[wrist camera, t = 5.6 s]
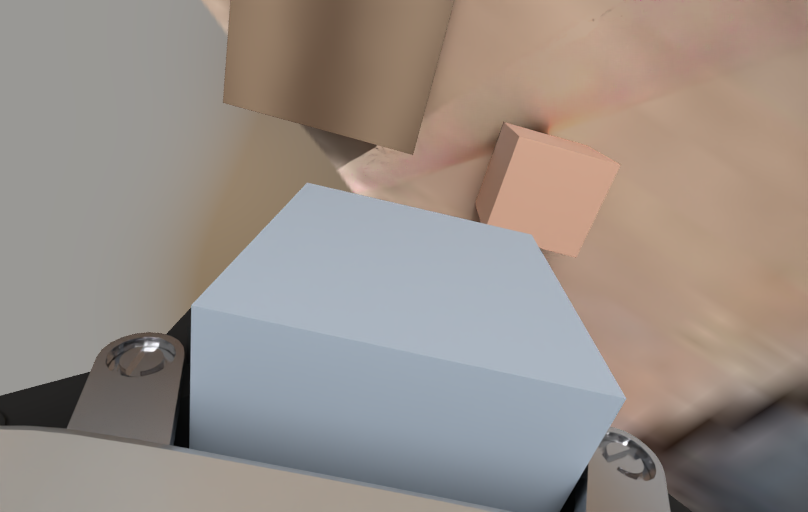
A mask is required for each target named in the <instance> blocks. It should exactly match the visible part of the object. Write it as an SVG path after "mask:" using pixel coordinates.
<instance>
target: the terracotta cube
mask: <svg viewBox="0 0 808 512" xmlns="http://www.w3.org/2000/svg"><path fill="white" fill-rule="evenodd" d="M620 166H621V165H620V164H618V163H617V162H615V161H613V160H611V159H610V158H608V157H606V156H605V155H603V154H601V153H599V152H598V151H596V150H594V149H592V148H591V147H589V146H587V145H584V144H580V143H577V142H573V141H570V140H566V139H563V138H559V137H556V136H552V135H548V134H545V133H541V132H538V131H534V130H531V129H527V128H524V127H520V126H517V125H513V124H510V123H506V122H503V125H502V127H501V130H500V133H499V136H498V139H497V142H496V145H495V148H494V150H493V153H492V156H491V159H490V162H489V165H488V168H487V171H486V173H485V176H484V179H483V182H482V185H481V188H480V191H479V194H478V196H477V199H476V202H475V205H476V208H477V211H478V215H479V218H480V222H481V223H484V224H488V225H492V226H497V227H501V228H505V229H509V230H514V231H518V232H522V233H527V234H531V235H532V236H533V238H534V240H535V241H536V243H537V245H538V247H539V248H542V249H545V250H549V251H553V252H557V253H560V254H564V255H568V256H572V257H575V258H576V257H577V255H578V253H579V251H580V249H581V247H582V245H583V243H584V241H585V239H586V237H587V234H588V232H589V230H590V228H591V226H592V224H593V222H594V220H595V218H596V216H597V214H598V212H599V209H600V207H601V205H602V203H603V201H604V199H605V197H606V195H607V193H608V191H609V189H610V187H611V185H612V182H613V180H614V178H615V176H616V174H617V172H618V170H619V168H620Z"/></svg>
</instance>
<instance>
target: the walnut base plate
mask: <svg viewBox="0 0 808 512" xmlns="http://www.w3.org/2000/svg"><path fill="white" fill-rule="evenodd" d="M453 4H454V0H230V14H229V27H228V42H227V55H226V68H225V82H224V96H223V103H226V104H230V105H233V106H237V107H241V108H244V109H248V110H251V111H255V112H259V113H262V114H266V115H270V116H273V117H277V118H281V119H284V120H288V121H292V122H295V123H299V124H302V125H306V126H310V127H313V128H317V129H321V130H324V131H328V132H332V133H335V134H339V135H343V136H346V137H350V138H353V139H357V140H361V141H364V142H368V143H372V144H375V145H379V146H383V147H386V148H390V149H394V150H397V151H401V152H404V153H408V154H412V155H413V153H414V149H415V146H416V142H417V138H418V134H419V131H420V127H421V123H422V119H423V116H424V112H425V108H426V105H427V101H428V97H429V93H430V90H431V86H432V82H433V78H434V75H435V71H436V67H437V63H438V60H439V56H440V52H441V49H442V45H443V41H444V37H445V34H446V30H447V26H448V22H449V19H450V15H451V11H452V7H453Z"/></svg>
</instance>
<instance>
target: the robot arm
mask: <svg viewBox="0 0 808 512" xmlns="http://www.w3.org/2000/svg"><path fill="white" fill-rule="evenodd" d="M190 367H191V308H190V309H189V310H188V311H187V313H186V314H185V315H184V316H183V317H182V318H181V319H180V320H179V321H178V322H177V323H176V324H175V325H174V326H173V328H172V329H171V330H170V331H169V332H168V333H167V334H162V333H151V332H148V333H137V334H132V335H129V336H125V337H122V338H120V339H117V340H115V341H113V342H111V343H110V344H108V345H107V346H106V347H104V348H103V349H102V350H101V352H100V353H99V354H98V356H97V357H96V360H95V362H94V364H93V367H92V369H91V372H88V373H84V374H80V375H76V376H72V377H69V378H65V379H61V380H58V381H54V382H50V383H47V384H43V385H39V386H35V387H31V388H28V389H24V390H20V391H16V392H13V393H9V394H5V395H2V396H0V512H512V511H507V510H502V509H497V508H493V507H488V506H483V505H478V504H473V503H468V502H463V501H458V500H453V499H448V498H442V497H437V496H432V495H427V494H422V493H417V492H412V491H407V490H402V489H397V488H392V487H387V486H381V485H376V484H371V483H366V482H361V481H356V480H351V479H346V478H340V477H335V476H330V475H325V474H320V473H315V472H309V471H304V470H299V469H294V468H288V467H283V466H278V465H273V464H267V463H262V462H257V461H252V460H246V459H241V458H236V457H231V456H225V455H220V454H215V453H210V452H204V451H199V450H194V449H189V439H190ZM560 512H692V511H690V510H689V509H688V508H686V507H685V506H684V505H683V504H681V503H680V502H679V501H677V500H676V499H675V498H673V497H672V496H671V495H670V494H668V492H667V486H666V479H665V473H664V470H663V467H662V464H661V463H660V461H659V460H658V458H657V457H656V455H655V454H654V453H653V452H652V451H651V450H650V449H649V448H648V447H647V446H646V445H645V444H644V443H642V442H641V441H640V440H639V439H637V438H636V437H634V436H632V435H631V434H629V433H627V432H625V431H622V430H620V429H617V428H614V427H609V429H608V430H607V432H606V434H605V436H604V437H603V439H602V441H601V442H600V444H599V446H598V447H597V449H596V451H595V453H594V454H593V456H592V458H591V459H590V461H589V463H588V464H587V466H586V468H585V470H584V471H583V473H582V475H581V476H580V478H579V480H578V481H577V483H576V485H575V487H574V488H573V490H572V492H571V493H570V495H569V497H568V498H567V500H566V502H565V504H564V505H563V507H562V509H561V510H560Z"/></svg>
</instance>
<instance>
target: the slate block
mask: <svg viewBox="0 0 808 512" xmlns="http://www.w3.org/2000/svg"><path fill="white" fill-rule="evenodd" d="M625 400H626V397H625V396H624V394H623V392H622V391H621V389H620V387H619V385H618V384H617V382H616V380H615V378H614V377H613V375H612V373H611V371H610V370H609V368H608V366H607V365H606V363H605V361H604V359H603V358H602V356H601V354H600V352H599V351H598V349H597V347H596V345H595V344H594V342H593V340H592V338H591V337H590V335H589V333H588V332H587V330H586V328H585V326H584V325H583V323H582V321H581V319H580V318H579V316H578V314H577V312H576V311H575V309H574V307H573V306H572V304H571V302H570V300H569V299H568V297H567V295H566V293H565V292H564V290H563V288H562V286H561V285H560V283H559V281H558V280H557V278H556V276H555V274H554V273H553V271H552V269H551V267H550V266H549V264H548V262H547V260H546V259H545V257H544V255H543V254H542V252H541V250H540V248H539V247H538V245H537V243H536V241H535V240H534V238H533V236H532V235H531V234H527V233H522V232H518V231H514V230H509V229H505V228H501V227H497V226H492V225H488V224H484V223H479V222H475V221H471V220H466V219H462V218H458V217H453V216H449V215H445V214H440V213H436V212H432V211H427V210H423V209H419V208H414V207H410V206H406V205H401V204H397V203H393V202H388V201H384V200H380V199H375V198H371V197H367V196H362V195H358V194H354V193H349V192H345V191H341V190H336V189H332V188H328V187H323V186H319V185H315V184H310V183H307V184H306V185H305V186H304V187H303V188H302V189H301V190H300V191H299V192H298V193H297V194H296V195H295V196H294V197H293V198H292V199H291V201H290V202H289V203H288V204H287V205H286V206H285V207H284V208H283V209H282V210H281V211H280V212H279V213H278V214H277V215H276V216H275V217H274V218H273V220H272V221H271V222H270V223H269V224H268V225H267V226H266V227H265V228H264V229H263V230H262V231H261V232H260V233H259V234H258V235H257V236H256V238H255V239H254V240H253V241H252V242H251V243H250V244H249V245H248V246H247V247H246V248H245V249H244V250H243V251H242V252H241V253H240V254H239V256H238V257H237V258H236V259H235V260H234V261H233V262H232V263H231V264H230V265H229V266H228V267H227V268H226V269H225V271H223V272H222V274H221V275H220V276H219V277H218V278H217V279H216V280H215V281H214V282H213V283H212V284H211V285H210V286H209V287H208V288H207V289H206V290H205V292H204V293H203V294H202V295H201V296H200V297H199V298H198V299H197V300H196V301H195V302H194V303H193V304H192V305H191V367H190V439H189V449H194V450H199V451H204V452H210V453H215V454H220V455H225V456H231V457H236V458H241V459H246V460H252V461H257V462H262V463H267V464H273V465H278V466H283V467H288V468H294V469H299V470H304V471H309V472H315V473H320V474H325V475H330V476H335V477H340V478H346V479H351V480H356V481H361V482H366V483H371V484H376V485H381V486H387V487H392V488H397V489H402V490H407V491H412V492H417V493H422V494H427V495H432V496H437V497H442V498H448V499H453V500H458V501H463V502H468V503H473V504H478V505H483V506H488V507H493V508H497V509H502V510H507V511H512V512H560V510H561V509H562V507H563V505H564V504H565V502H566V500H567V498H568V497H569V495H570V493H571V492H572V490H573V488H574V487H575V485H576V483H577V481H578V480H579V478H580V476H581V475H582V473H583V471H584V470H585V468H586V466H587V464H588V463H589V461H590V459H591V458H592V456H593V454H594V453H595V451H596V449H597V447H598V446H599V444H600V442H601V441H602V439H603V437H604V436H605V434H606V432H607V430H608V429H609V427H610V425H611V424H612V422H613V420H614V419H615V417H616V415H617V413H618V412H619V410H620V408H621V407H622V405H623V403H624V402H625Z"/></svg>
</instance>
